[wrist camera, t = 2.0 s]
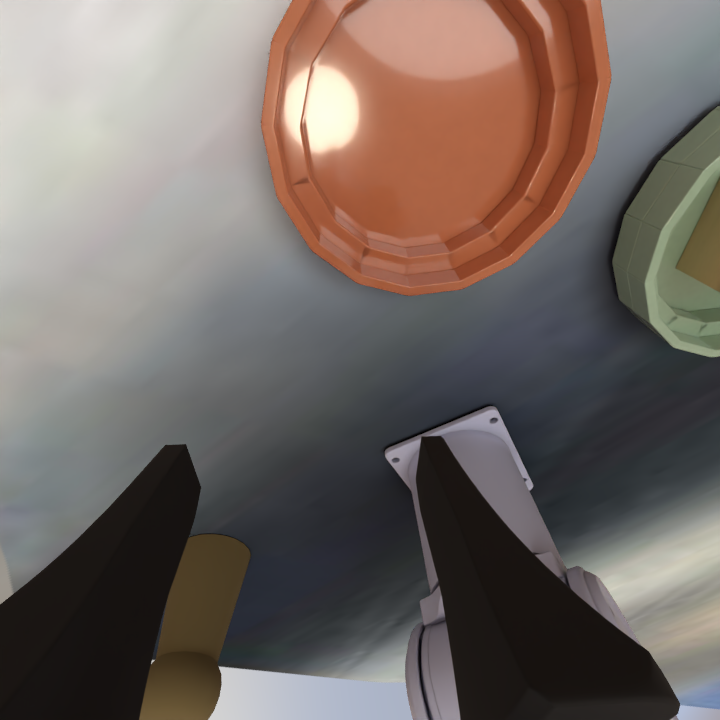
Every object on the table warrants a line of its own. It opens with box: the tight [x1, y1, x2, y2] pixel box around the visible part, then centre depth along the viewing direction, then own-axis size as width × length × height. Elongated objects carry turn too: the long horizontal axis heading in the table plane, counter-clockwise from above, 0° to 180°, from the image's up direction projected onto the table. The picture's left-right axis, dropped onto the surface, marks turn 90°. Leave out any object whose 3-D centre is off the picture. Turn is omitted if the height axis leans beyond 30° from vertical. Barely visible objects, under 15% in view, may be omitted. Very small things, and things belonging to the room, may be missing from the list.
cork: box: [139, 534, 251, 720], centre depth 29 cm, size 6×6×11 cm
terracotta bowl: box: [261, 0, 611, 296], centre depth 15 cm, size 12×12×3 cm
